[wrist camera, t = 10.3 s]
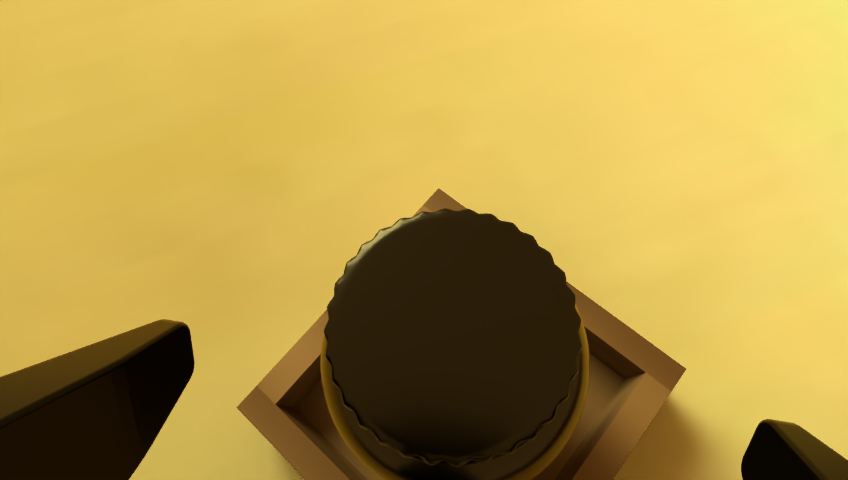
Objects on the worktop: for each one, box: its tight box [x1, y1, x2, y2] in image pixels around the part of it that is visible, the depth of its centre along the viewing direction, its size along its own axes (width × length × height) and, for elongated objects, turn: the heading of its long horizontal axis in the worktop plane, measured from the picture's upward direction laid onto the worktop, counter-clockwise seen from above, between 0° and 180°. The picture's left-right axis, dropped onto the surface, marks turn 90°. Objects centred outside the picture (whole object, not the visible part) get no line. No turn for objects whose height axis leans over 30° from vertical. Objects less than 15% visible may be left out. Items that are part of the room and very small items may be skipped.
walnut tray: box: [237, 189, 686, 480], centre depth 19 cm, size 11×11×3 cm
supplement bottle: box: [320, 208, 590, 480], centre depth 15 cm, size 7×7×12 cm
